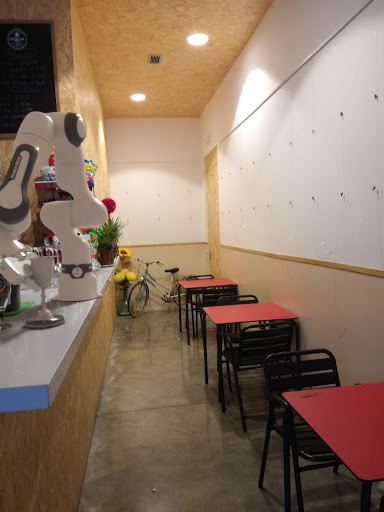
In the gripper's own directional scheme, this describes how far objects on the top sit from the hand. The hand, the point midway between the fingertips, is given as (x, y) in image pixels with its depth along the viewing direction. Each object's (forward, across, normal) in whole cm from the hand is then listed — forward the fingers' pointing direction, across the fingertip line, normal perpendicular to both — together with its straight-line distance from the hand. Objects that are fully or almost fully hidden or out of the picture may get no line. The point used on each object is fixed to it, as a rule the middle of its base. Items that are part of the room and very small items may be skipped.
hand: (45, 287), depth 111 cm
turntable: (+7, 0, +8) cm, 11 cm away
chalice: (+6, 0, +7) cm, 9 cm away
